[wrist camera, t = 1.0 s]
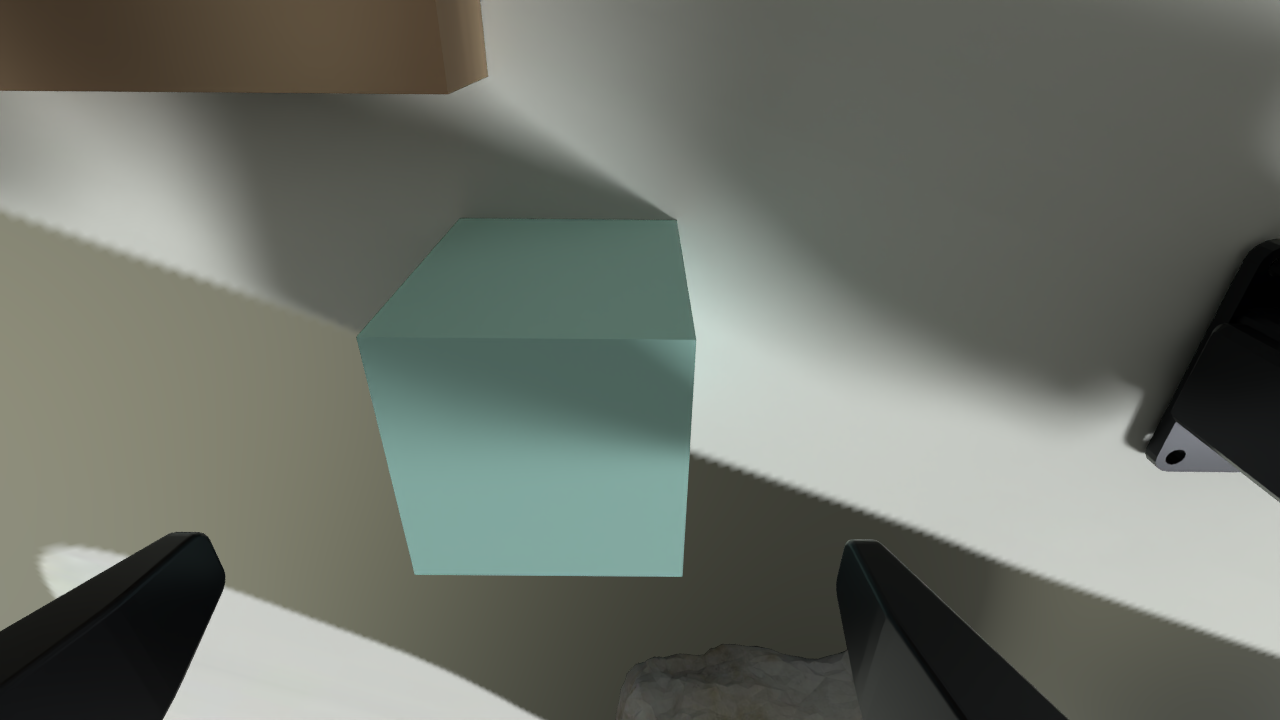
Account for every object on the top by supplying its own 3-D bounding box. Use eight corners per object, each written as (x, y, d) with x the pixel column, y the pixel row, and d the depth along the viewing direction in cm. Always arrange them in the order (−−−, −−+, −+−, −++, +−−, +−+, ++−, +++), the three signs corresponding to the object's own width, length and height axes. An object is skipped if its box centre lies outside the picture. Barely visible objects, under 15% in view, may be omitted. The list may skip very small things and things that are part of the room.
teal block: (676, 219, 14) (696, 339, 9) (669, 400, 17) (682, 576, 12) (460, 217, 14) (356, 336, 9) (485, 399, 17) (414, 574, 12)
